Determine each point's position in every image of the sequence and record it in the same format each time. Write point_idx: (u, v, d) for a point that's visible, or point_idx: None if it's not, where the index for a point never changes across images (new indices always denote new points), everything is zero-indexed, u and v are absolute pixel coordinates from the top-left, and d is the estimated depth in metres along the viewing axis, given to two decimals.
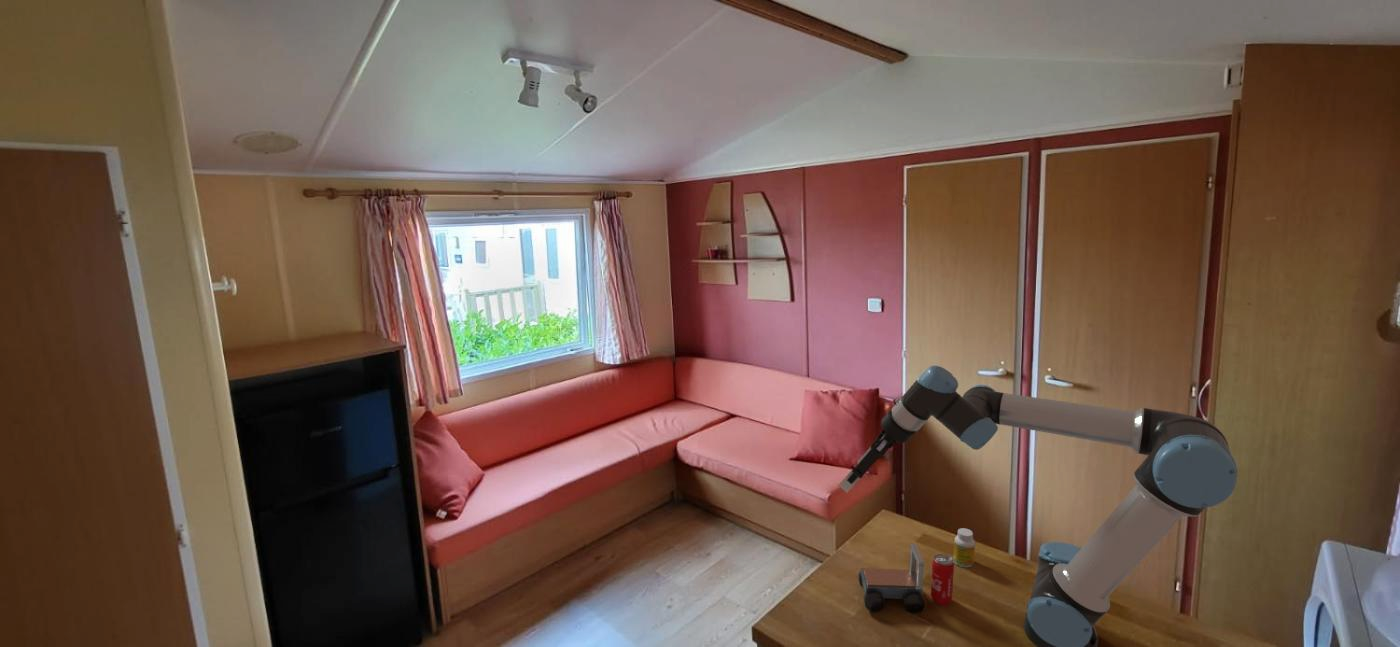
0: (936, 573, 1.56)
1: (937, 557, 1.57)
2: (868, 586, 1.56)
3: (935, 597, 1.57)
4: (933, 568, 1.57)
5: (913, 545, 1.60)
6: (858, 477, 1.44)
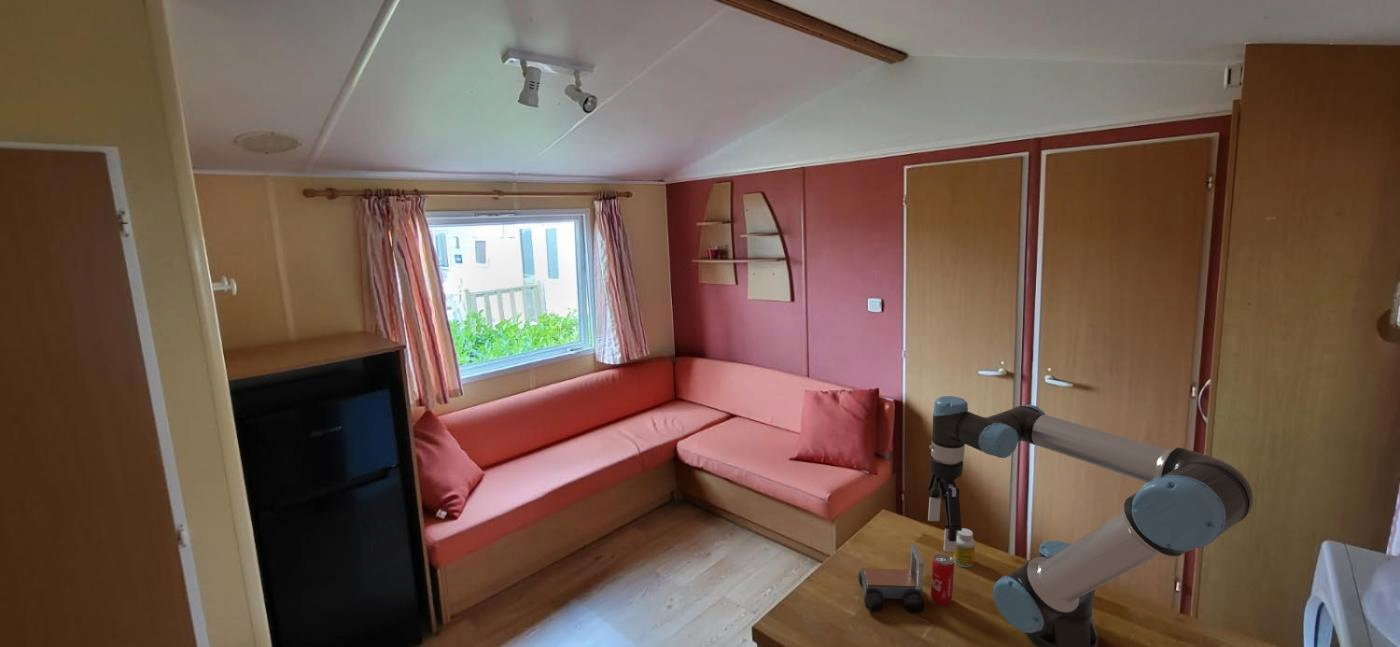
0: (936, 573, 1.56)
1: (937, 557, 1.57)
2: (868, 586, 1.56)
3: (935, 597, 1.57)
4: (933, 568, 1.57)
5: (913, 545, 1.60)
6: (955, 531, 1.47)
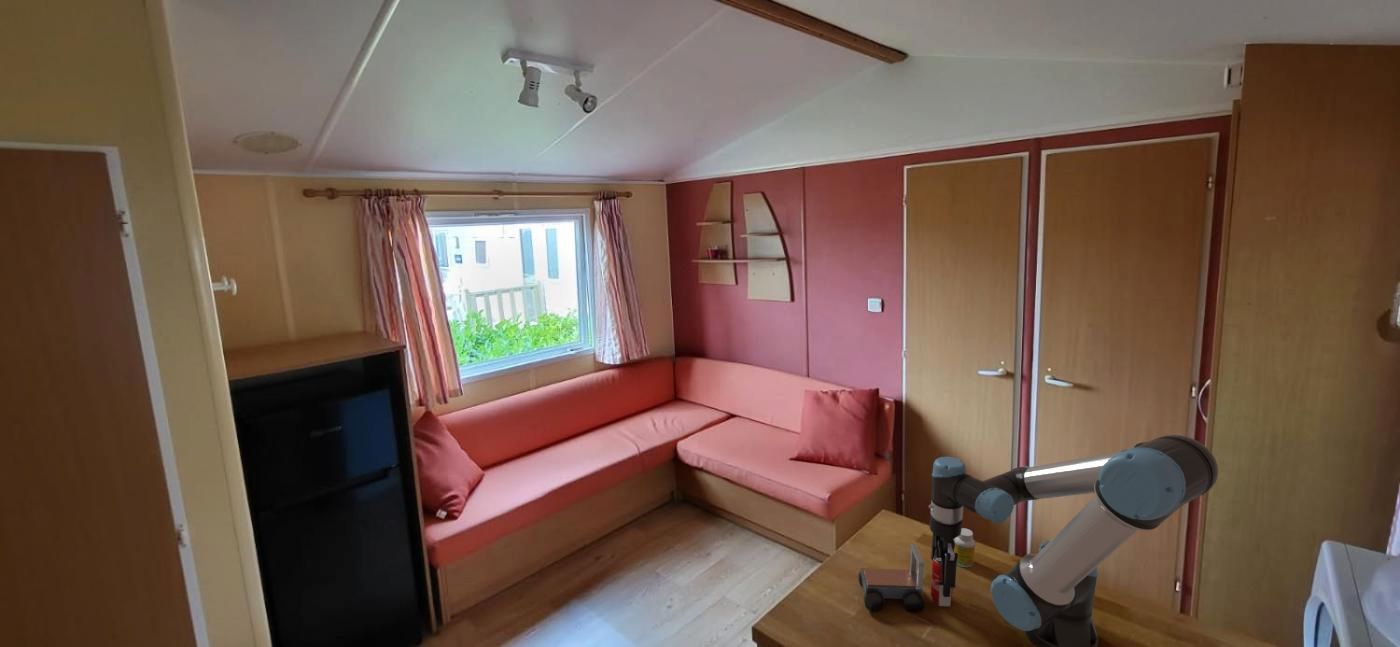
0: (936, 573, 1.56)
1: (937, 557, 1.57)
2: (868, 586, 1.56)
3: (935, 597, 1.57)
4: (933, 568, 1.57)
5: (913, 545, 1.60)
6: None
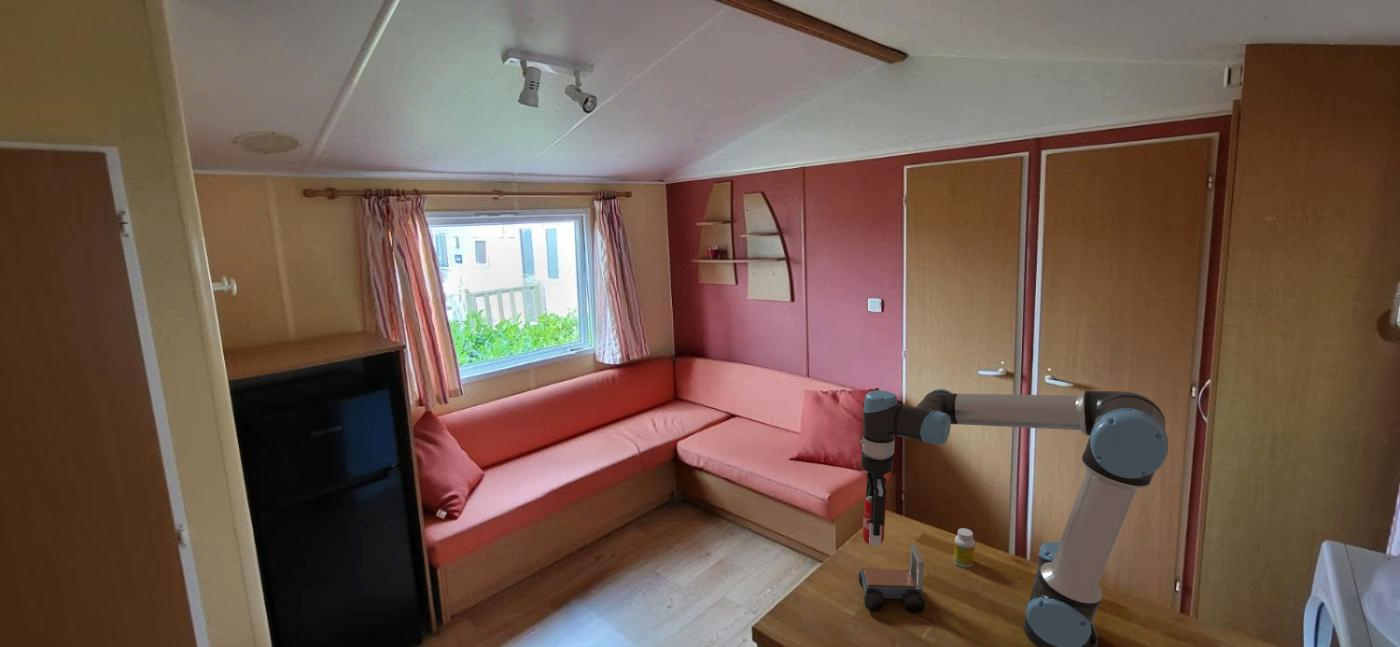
0: (867, 511, 1.50)
1: (869, 496, 1.52)
2: (868, 586, 1.56)
3: (866, 537, 1.52)
4: (864, 506, 1.52)
5: (913, 545, 1.60)
6: None
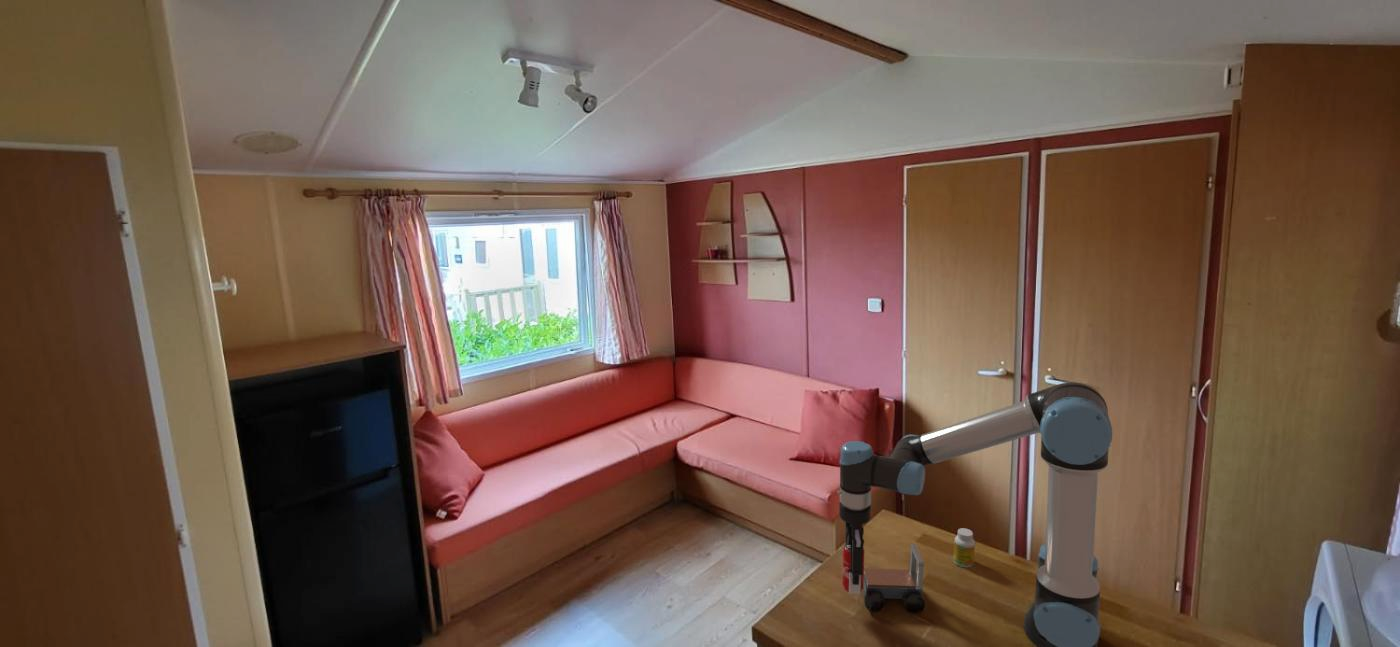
0: (846, 560, 1.52)
1: (848, 544, 1.54)
2: (868, 586, 1.56)
3: (846, 585, 1.54)
4: (843, 555, 1.53)
5: (913, 545, 1.60)
6: (858, 574, 1.51)
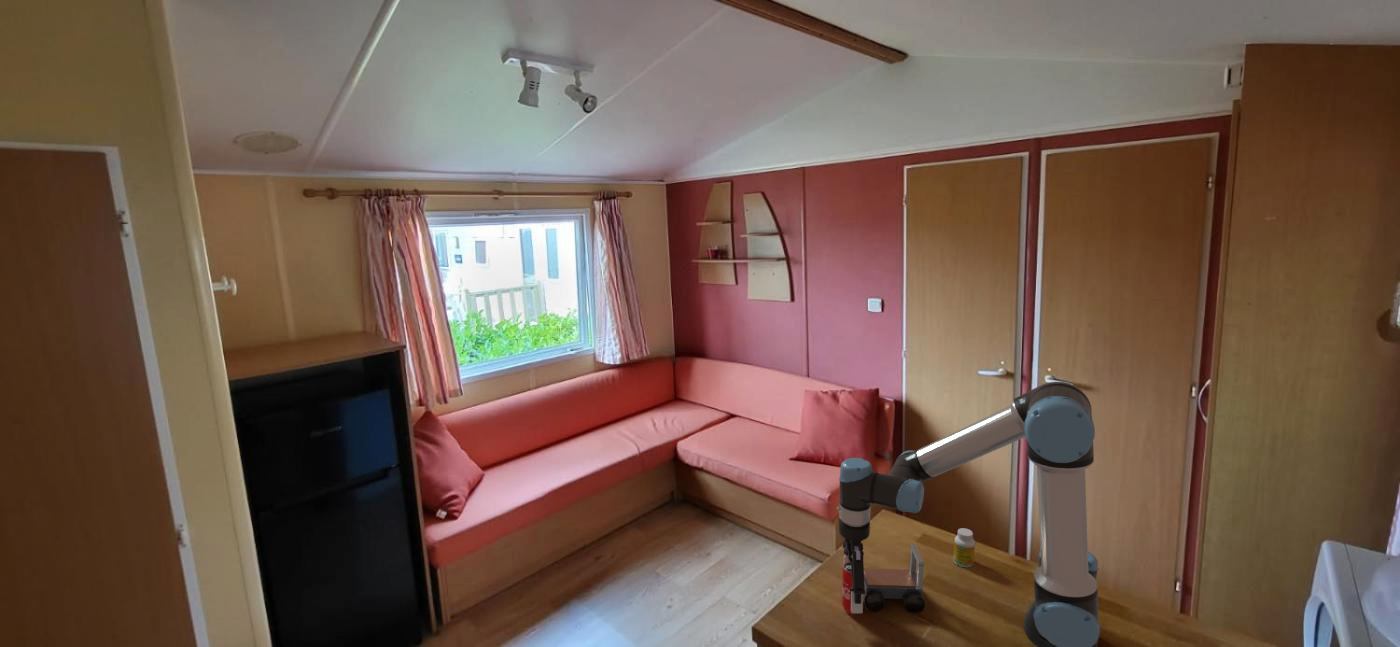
0: (845, 581, 1.54)
1: (847, 565, 1.56)
2: (868, 586, 1.56)
3: (845, 605, 1.55)
4: (843, 576, 1.55)
5: (913, 545, 1.60)
6: None
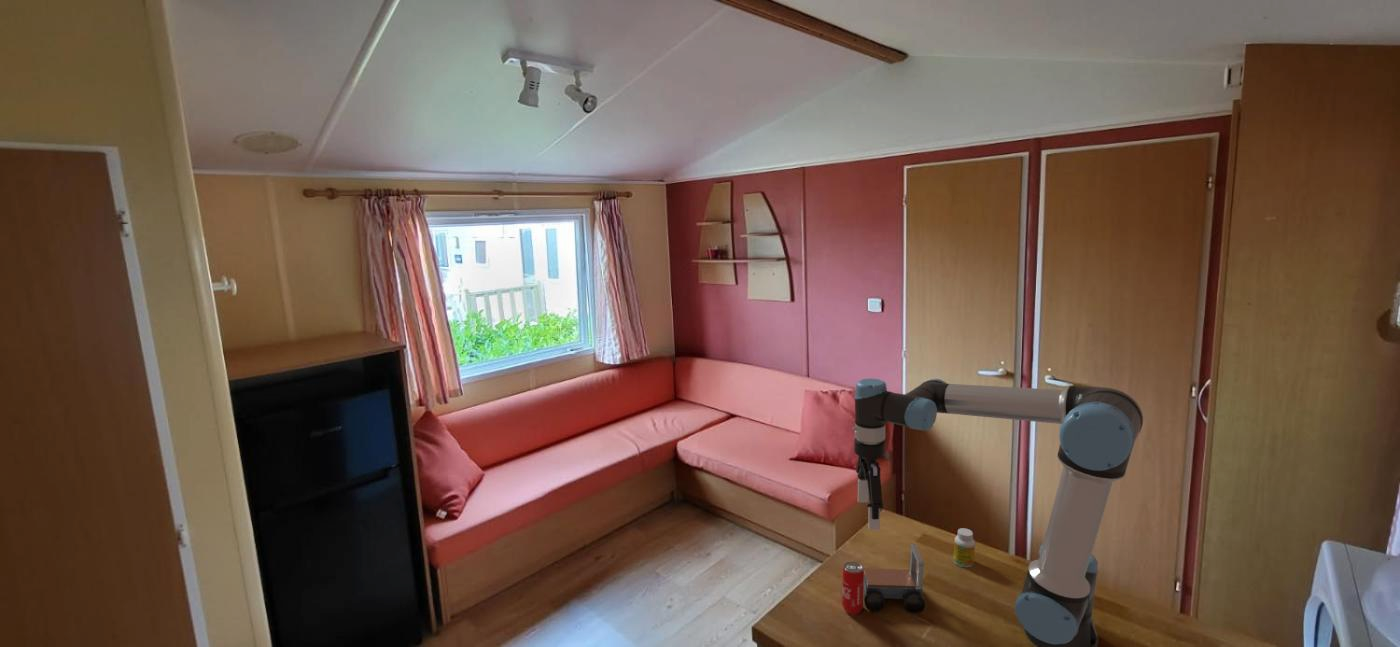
0: (846, 581, 1.54)
1: (848, 565, 1.56)
2: (868, 586, 1.56)
3: (845, 605, 1.55)
4: (843, 576, 1.55)
5: (913, 545, 1.60)
6: None
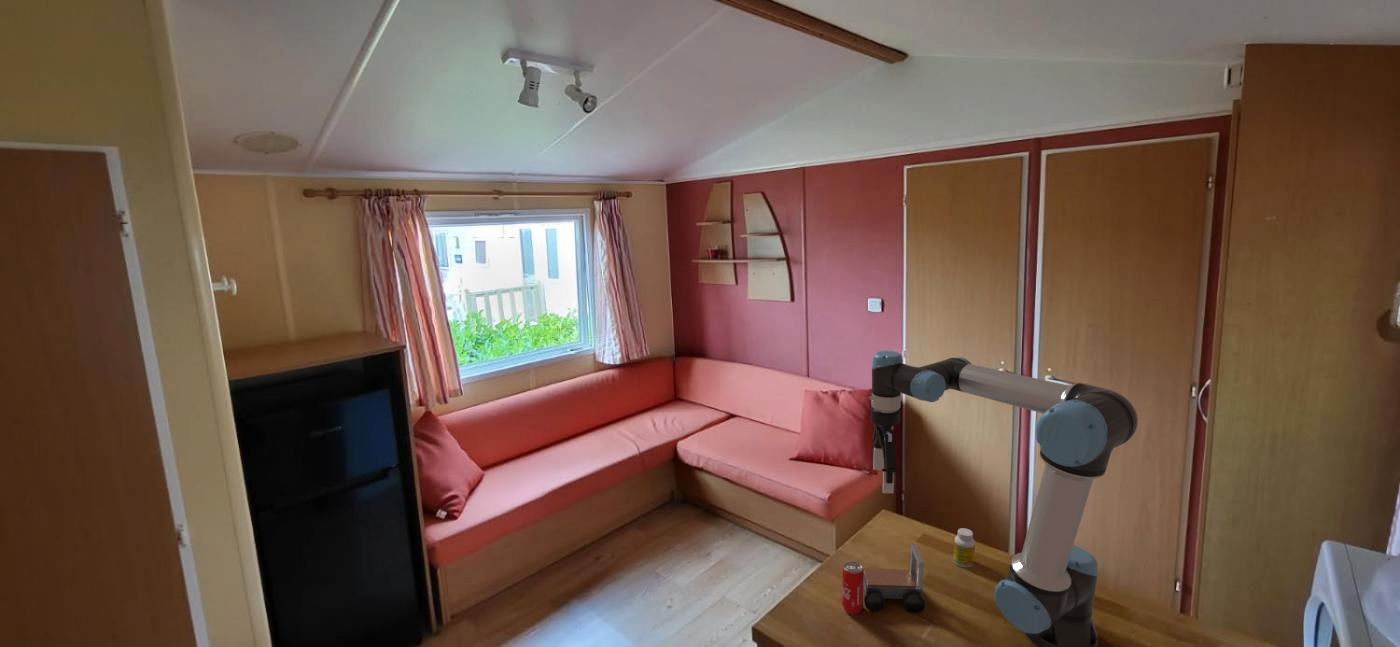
0: (845, 581, 1.54)
1: (847, 565, 1.55)
2: (868, 586, 1.56)
3: (845, 605, 1.55)
4: (843, 576, 1.55)
5: (913, 545, 1.60)
6: None
